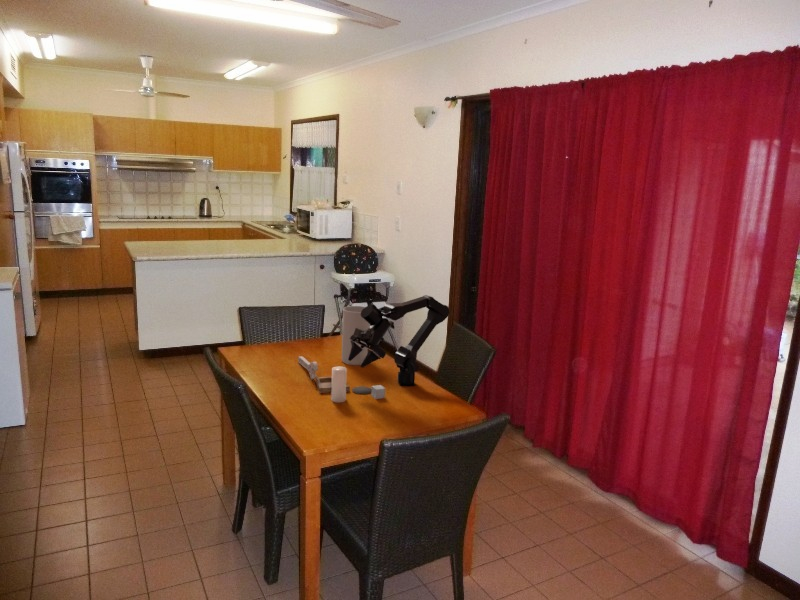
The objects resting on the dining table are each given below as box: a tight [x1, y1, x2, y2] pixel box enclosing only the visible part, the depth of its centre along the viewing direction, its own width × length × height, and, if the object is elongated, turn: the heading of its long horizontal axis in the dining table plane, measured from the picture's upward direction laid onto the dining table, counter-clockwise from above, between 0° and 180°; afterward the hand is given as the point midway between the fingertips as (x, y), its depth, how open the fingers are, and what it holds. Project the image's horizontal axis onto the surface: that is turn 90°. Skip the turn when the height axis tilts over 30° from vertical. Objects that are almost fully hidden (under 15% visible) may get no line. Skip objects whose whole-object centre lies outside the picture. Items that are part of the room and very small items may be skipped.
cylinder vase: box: [341, 305, 371, 366], centre depth 266 cm, size 12×12×25 cm
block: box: [370, 384, 386, 400], centre depth 227 cm, size 4×4×4 cm
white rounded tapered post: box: [330, 365, 348, 403], centre depth 221 cm, size 6×6×12 cm
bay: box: [315, 376, 350, 394], centre depth 235 cm, size 12×12×2 cm
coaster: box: [351, 386, 372, 395], centre depth 233 cm, size 8×8×1 cm
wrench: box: [297, 355, 319, 380], centre depth 250 cm, size 8×2×30 cm
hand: (355, 363), depth 226 cm, fingers open, 9 cm apart
